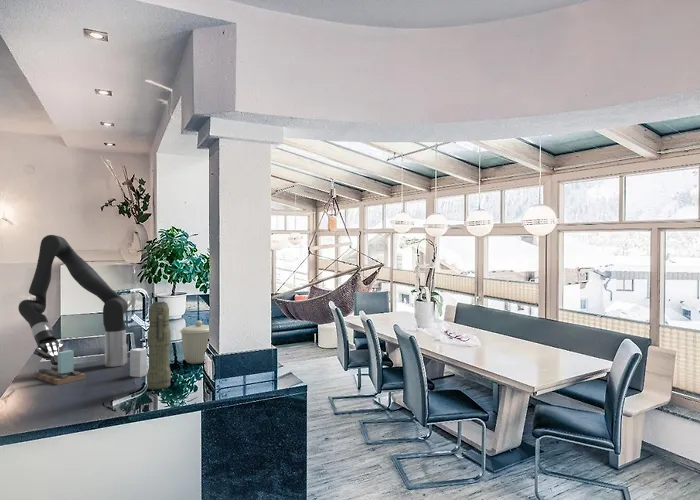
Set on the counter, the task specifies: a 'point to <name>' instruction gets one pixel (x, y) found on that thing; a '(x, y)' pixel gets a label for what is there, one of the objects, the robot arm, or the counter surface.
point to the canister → (195, 342)
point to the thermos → (159, 346)
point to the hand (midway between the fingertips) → (56, 364)
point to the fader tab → (66, 362)
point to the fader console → (58, 376)
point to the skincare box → (138, 362)
